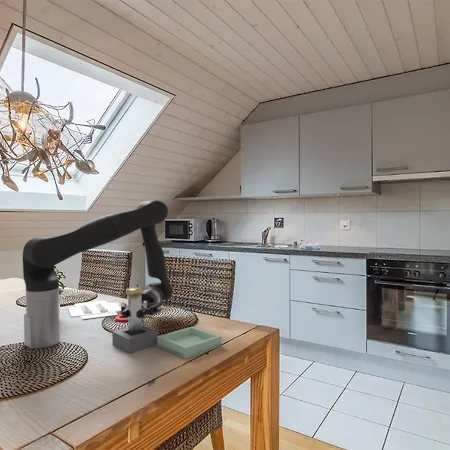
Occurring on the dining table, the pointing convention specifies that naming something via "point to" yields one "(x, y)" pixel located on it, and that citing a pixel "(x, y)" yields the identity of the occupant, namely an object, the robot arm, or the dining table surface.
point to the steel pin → (134, 310)
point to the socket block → (134, 339)
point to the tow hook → (119, 317)
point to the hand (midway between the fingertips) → (132, 314)
